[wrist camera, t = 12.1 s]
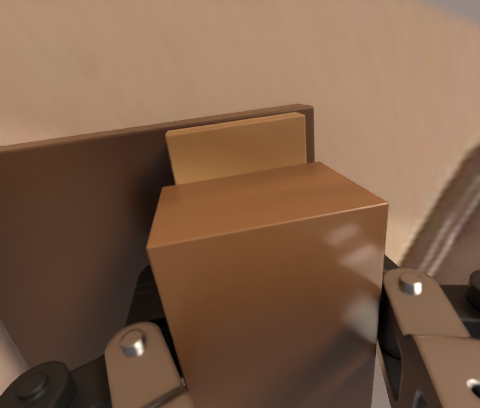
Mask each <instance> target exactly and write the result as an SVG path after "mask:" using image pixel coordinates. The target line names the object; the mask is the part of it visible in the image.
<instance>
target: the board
mask: <svg viewBox="0 0 480 408" xmlns="http://www.w3.org/2000/svg"><path fill="white" fill-rule="evenodd" d="M293 112H297V113H301V114H304V115H305V131H306V162H307V163H312V162H315V157H314V108H313V106H309V105H303V104H293V105H286V106H279V107H272V108H265V109H258V110H251V111H244V112H237V113H230V114H223V115H216V116H209V117H202V118H195V119H188V120H181V121H174V122H167V123H161V124H154V125H147V126H140V127H133V128H126V129H119V130H112V131H105V132H98V133H91V134H84V135H77V136H70V137H63V138H56V139H49V140H42V141H35V142H28V143H21V144H14V145H8V146H1V147H0V318H1V320H2V321H3V323H4V325H5V327H6V328H7V330H8V332H9V333H10V335H11V337H12V339H13V340H14V342H15V344H16V345H17V347H18V349H19V351H20V352H21V354H22V356H23V357H24V359H25V361H26V363H27V364H28V366H29V368H30V369H31V368H33V367H35V366H37V365H39V364H42V363H45V362H49V361H60V362H63V363H65V364H66V365H67V367H68V369H69V371H71V370H73V369H76V368H78V367H80V366H82V365H84V364H86V363H88V362H90V361H92V360H95V359H96V358H98V357H100V356H102V355H103V354H105V349H106V346H107V344H108V342H109V341H110V340H111V338H112V337H113V336H114V335H115V334H116V333H117V332H119V331H120V330H121V329H123V328H124V327H125V324H126V320H127V317H128V313H129V309H130V306H131V302H132V298H133V296H134V291H135V288H136V283H137V280H138V276H139V274H140V273H141V272H142V271H143V270H144V268H145V267H146V266H148V265H150V262H149V258H148V255H147V251H146V245H147V241H148V238H149V234H150V230H151V227H152V223H153V219H154V216H155V212H156V208H157V204H158V201H159V197H160V193H161V190H162V188H163V187H167V186H173V185H175V182H174V178H173V173H172V169H171V164H170V160H169V155H168V151H167V146H166V142H165V134H166V132H167V131H170V130H177V129H184V128H191V127H198V126H204V125H211V124H218V123H225V122H232V121H238V120H245V119H252V118H259V117H266V116H272V115H279V114H286V113H293Z"/></svg>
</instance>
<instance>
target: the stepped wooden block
mask: <svg viewBox="0 0 480 408" xmlns="http://www.w3.org/2000/svg"><path fill="white" fill-rule="evenodd" d="M165 142H166V146H167V151H168V155H169V160H170V164H171V169H172V173H173V178H174V182H175V185H173V186H167V187H163V188H162V190H161V193H160V197H159V201H158V204H157V208H156V212H155V216H154V219H153V223H152V227H151V230H150V234H149V238H148V241H147V245H146V251H147V255H148V258H149V262H150V265H151V269H152V272H153V275H154V279H155V282H156V286H157V289H158V293H159V296H160V299H161V303H162V306H163V310H164V313H165V317H166V320H167V324H168V327H169V330H170V334H171V337H172V341H173V344H174V348H175V351H176V354H177V358H178V361H179V365H180V368H181V372H182V375H183V378H184V382H185V385H186V388H187V390H188V392H189V394H190V396H191V399H192V401H193V403H194V406H195V408H371V402H372V391H373V380H374V367H375V356H376V345H377V334H378V322H379V311H380V300H381V288H382V277H383V265H384V254H385V242H386V231H387V219H388V208H389V204H388V202H387V201H385V200H383V199H381V198H380V197H378V196H376V195H375V194H373V193H371V192H370V191H368V190H366V189H365V188H363V187H361V186H360V185H358V184H356V183H355V182H353V181H351V180H350V179H348V178H346V177H345V176H343V175H341V174H339V173H338V172H336V171H334V170H333V169H331V168H329V167H328V166H326V165H324V164H323V163H321V162H319V161H318V162H312V163H307V162H306V131H305V115H304V114H301V113H297V112H293V113H286V114H279V115H272V116H266V117H259V118H252V119H245V120H238V121H232V122H225V123H218V124H211V125H204V126H198V127H191V128H184V129H177V130H170V131H167V132H166V134H165Z"/></svg>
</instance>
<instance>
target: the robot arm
mask: <svg viewBox="0 0 480 408" xmlns="http://www.w3.org/2000/svg"><path fill="white" fill-rule="evenodd" d="M377 354H378V358H379V362H380V366H381V370H382V373H383V377H384V381H385V385H386V389H387V393H388V397H389V401H390V405H391V408H480V270H477V271H475V272H473V273H472V274H471V275H470V279H469V283H468V285H440V284H438V283H437V281H436V280H435V279H433V278H432V277H431V276H429V275H427V274H425V273H423V272H421V271H418V270H414V269H408V268H399V267H398V266H397V265H396V264H395V263H394V262H393V261H391V260H390V259H389V258H388V257H387V256H386V255H385V254H384V265H383V277H382V288H381V300H380V311H379V322H378V334H377ZM182 377H183V375H182V372H181V368H180V365H179V361H178V358H177V354H176V351H175V348H174V344H173V341H172V337H171V334H170V330H169V327H168V324H167V320H166V317H165V313H164V310H163V306H162V303H161V299H160V296H159V293H158V289H157V286H156V282H155V279H154V275H153V272H152V269H151V265H148V266H146V267H145V268H144V270H143V271H142V272H141V273H140V274H139V276H138V280H137V283H136V288H135V291H134V296H133V298H132V302H131V306H130V309H129V313H128V317H127V320H126V324H125V327H124V328H123V329H121V330H120V331H119V332H117V333H116V334H115V335H114V336H113V337H112V338H111V340H110V341H109V342H108V344H107V346H106V349H105V354H103V355H102V356H100V357H98V358H96V359H95V360H92V361H90V362H88V363H86V364H84V365H82V366H80V367H78V368H76V369H73V370H71V371H69V369H68V367H67V365H66V364H65V363H63V362H60V361H49V362H45V363H42V364H39V365H37V366H35V367H33V368H31V369H29V370H27V371H26V372H25V373H23V374H22V375H20V376H19V377H18V378H17V379H16V380H14V381H13V382H12V383H11V384H10V385H9V387H8V388H7V389H6V390H5V391H4V392H3V394H2V395H1V396H0V408H195V406H194V403H193V401H192V399H191V396H190V394H189V392H188V390H187V388H186V386H184V385H183V383H182V381H181V378H182Z"/></svg>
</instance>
